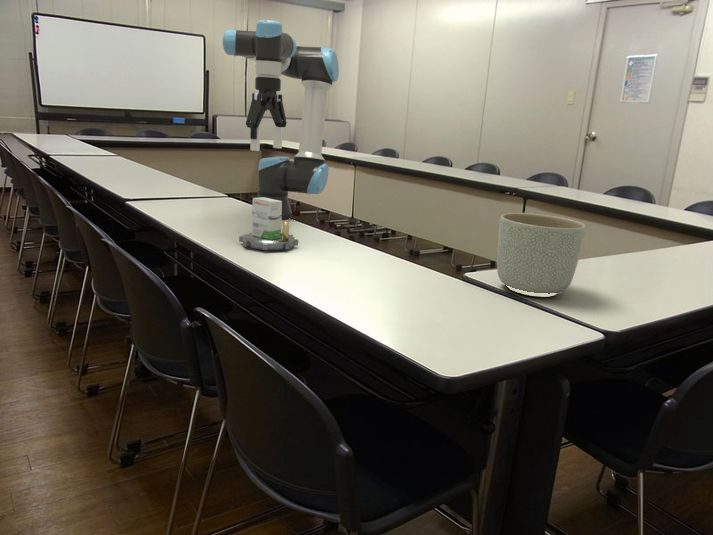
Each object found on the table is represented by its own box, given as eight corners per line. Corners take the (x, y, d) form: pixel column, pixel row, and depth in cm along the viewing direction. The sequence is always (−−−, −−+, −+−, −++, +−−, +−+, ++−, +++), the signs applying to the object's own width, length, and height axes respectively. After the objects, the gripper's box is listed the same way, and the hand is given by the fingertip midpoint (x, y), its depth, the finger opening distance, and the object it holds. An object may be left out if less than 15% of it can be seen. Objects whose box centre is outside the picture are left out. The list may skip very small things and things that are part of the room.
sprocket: (300, 239, 187) (301, 215, 185) (295, 252, 169) (296, 225, 167) (244, 235, 186) (245, 211, 184) (234, 248, 168) (234, 221, 166)
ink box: (281, 238, 177) (283, 200, 174) (270, 240, 173) (271, 201, 170) (262, 233, 182) (263, 196, 179) (250, 235, 178) (251, 197, 175)
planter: (573, 309, 138) (587, 232, 133) (485, 294, 144) (496, 220, 139) (573, 288, 157) (585, 219, 152) (495, 275, 163) (505, 209, 158)
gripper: (277, 78, 183) (276, 145, 189) (233, 73, 161) (233, 150, 167) (298, 79, 180) (296, 148, 187) (257, 75, 158) (255, 153, 164)
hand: (266, 149), depth 177 cm, fingers open, 13 cm apart
